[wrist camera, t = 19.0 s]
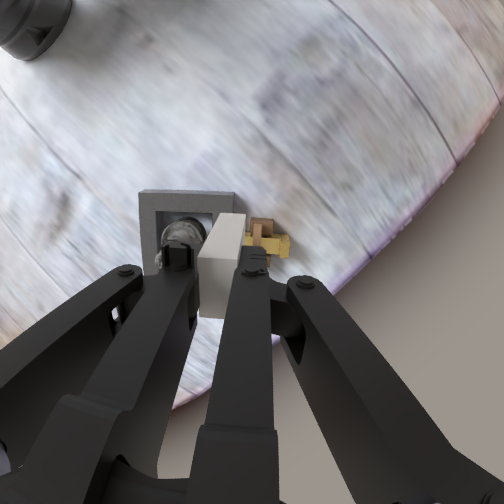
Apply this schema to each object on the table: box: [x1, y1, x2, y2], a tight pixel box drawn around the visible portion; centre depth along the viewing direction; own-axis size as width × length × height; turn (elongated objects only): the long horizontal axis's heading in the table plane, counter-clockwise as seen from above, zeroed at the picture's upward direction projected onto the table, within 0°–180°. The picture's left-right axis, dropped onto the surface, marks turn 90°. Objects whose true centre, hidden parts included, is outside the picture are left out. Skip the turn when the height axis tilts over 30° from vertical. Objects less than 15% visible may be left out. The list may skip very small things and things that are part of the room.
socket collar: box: [138, 190, 234, 276], centre depth 40 cm, size 13×13×2 cm
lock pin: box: [245, 232, 290, 258], centre depth 39 cm, size 2×9×3 cm, turn 87°
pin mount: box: [250, 218, 273, 267], centre depth 39 cm, size 6×3×4 cm, turn 177°
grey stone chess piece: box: [155, 217, 206, 271], centre depth 35 cm, size 6×6×12 cm
